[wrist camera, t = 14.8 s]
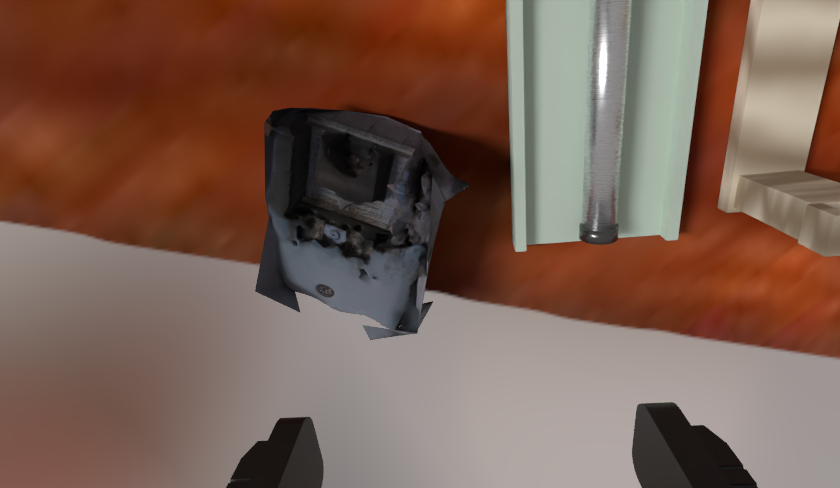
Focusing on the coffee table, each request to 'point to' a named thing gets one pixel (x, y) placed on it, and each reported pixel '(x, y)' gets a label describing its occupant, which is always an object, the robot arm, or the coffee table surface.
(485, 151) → the coffee table surface
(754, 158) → the rack
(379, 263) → the grey mechanical device
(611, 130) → the steel rod
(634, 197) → the mat tray
